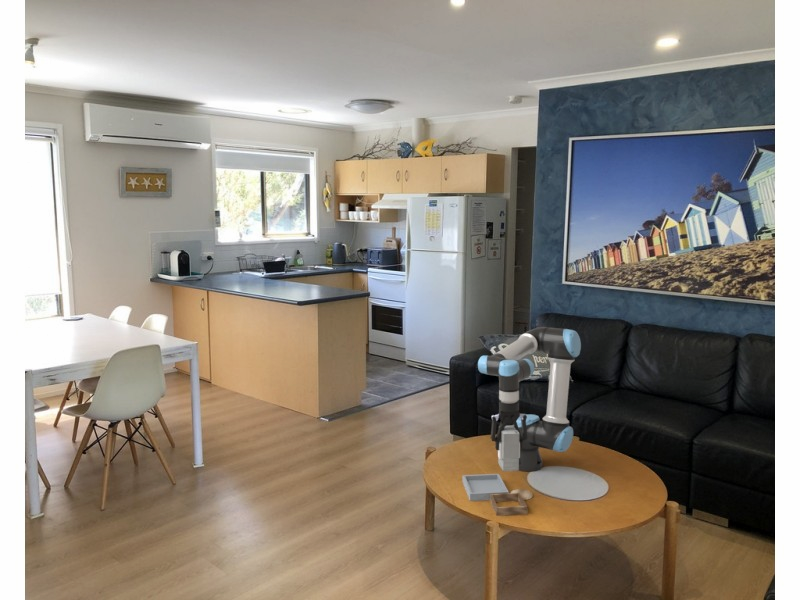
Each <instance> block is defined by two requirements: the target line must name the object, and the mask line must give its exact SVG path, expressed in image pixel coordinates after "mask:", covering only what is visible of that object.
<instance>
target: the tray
mask: <svg viewBox="0 0 800 600" xmlns="http://www.w3.org/2000/svg"><path fill="white" fill-rule="evenodd" d="M461 476H462V485H463V487H464V489H465V492H466V494H467V498H468V499H469V501H470V502H475V501H476V502H477V501H490V494H502V493H510V492H509V490H508V488H507V486H506V484H505V482H504V481H503V479H502V477H501V475H500V474H499V473H487V474H485V473H484V474H463V475H461Z"/></svg>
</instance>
